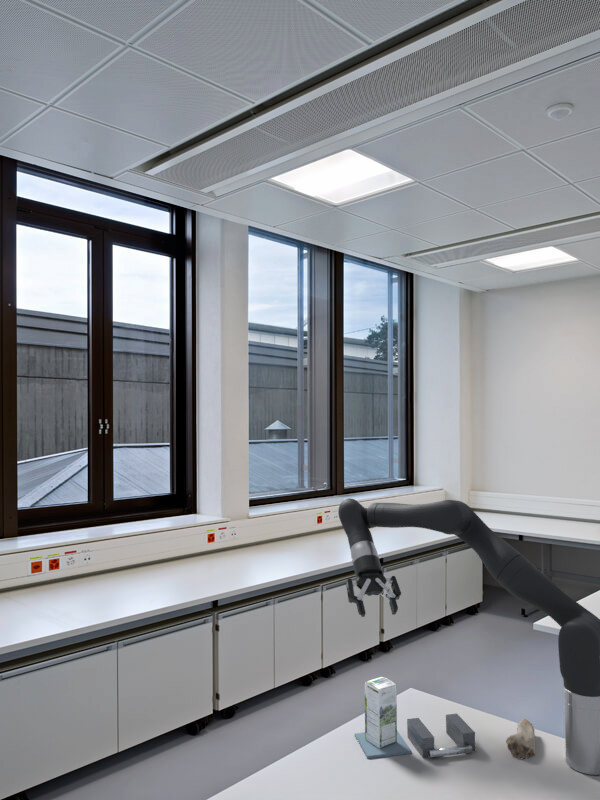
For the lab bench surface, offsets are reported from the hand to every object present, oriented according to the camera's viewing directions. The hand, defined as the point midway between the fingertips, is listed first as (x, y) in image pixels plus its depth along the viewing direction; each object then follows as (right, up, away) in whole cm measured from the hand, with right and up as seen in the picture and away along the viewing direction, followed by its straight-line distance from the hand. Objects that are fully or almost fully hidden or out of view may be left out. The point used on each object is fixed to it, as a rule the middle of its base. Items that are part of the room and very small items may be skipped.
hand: (379, 614), depth 167 cm
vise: (+14, -28, -11) cm, 33 cm away
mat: (-1, -28, -11) cm, 30 cm away
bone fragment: (+33, -28, -12) cm, 45 cm away
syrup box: (-1, -28, -11) cm, 30 cm away
